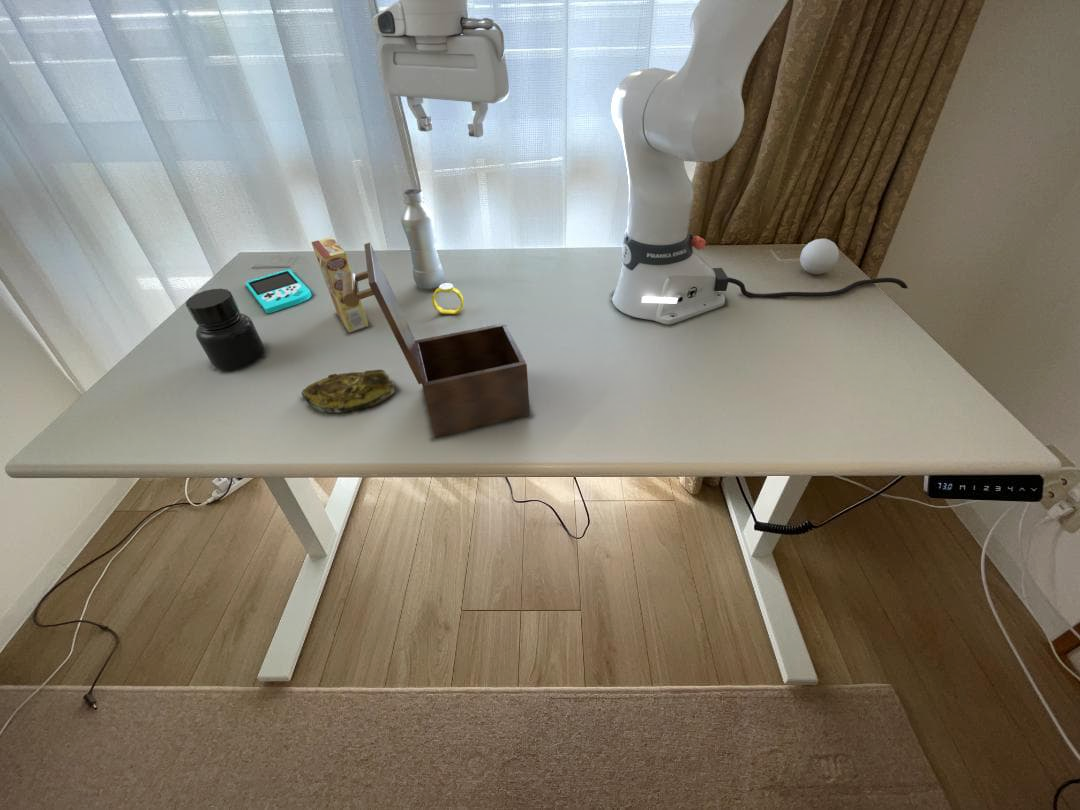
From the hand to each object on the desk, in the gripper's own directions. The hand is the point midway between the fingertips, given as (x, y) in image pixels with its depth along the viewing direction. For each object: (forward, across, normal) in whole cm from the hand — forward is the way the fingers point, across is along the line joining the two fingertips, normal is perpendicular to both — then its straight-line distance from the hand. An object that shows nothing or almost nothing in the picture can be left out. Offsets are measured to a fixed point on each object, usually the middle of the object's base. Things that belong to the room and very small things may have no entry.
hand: (450, 133), depth 74 cm
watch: (+33, +6, 0) cm, 34 cm away
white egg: (+33, -56, -50) cm, 82 cm away
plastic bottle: (+33, +17, -8) cm, 38 cm away
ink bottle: (+34, +32, +29) cm, 55 cm away
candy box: (+33, +22, +10) cm, 41 cm away
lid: (+15, -8, +26) cm, 32 cm away
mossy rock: (+33, +6, +28) cm, 44 cm away
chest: (+33, -14, +20) cm, 41 cm away
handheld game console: (+33, +46, +9) cm, 57 cm away
